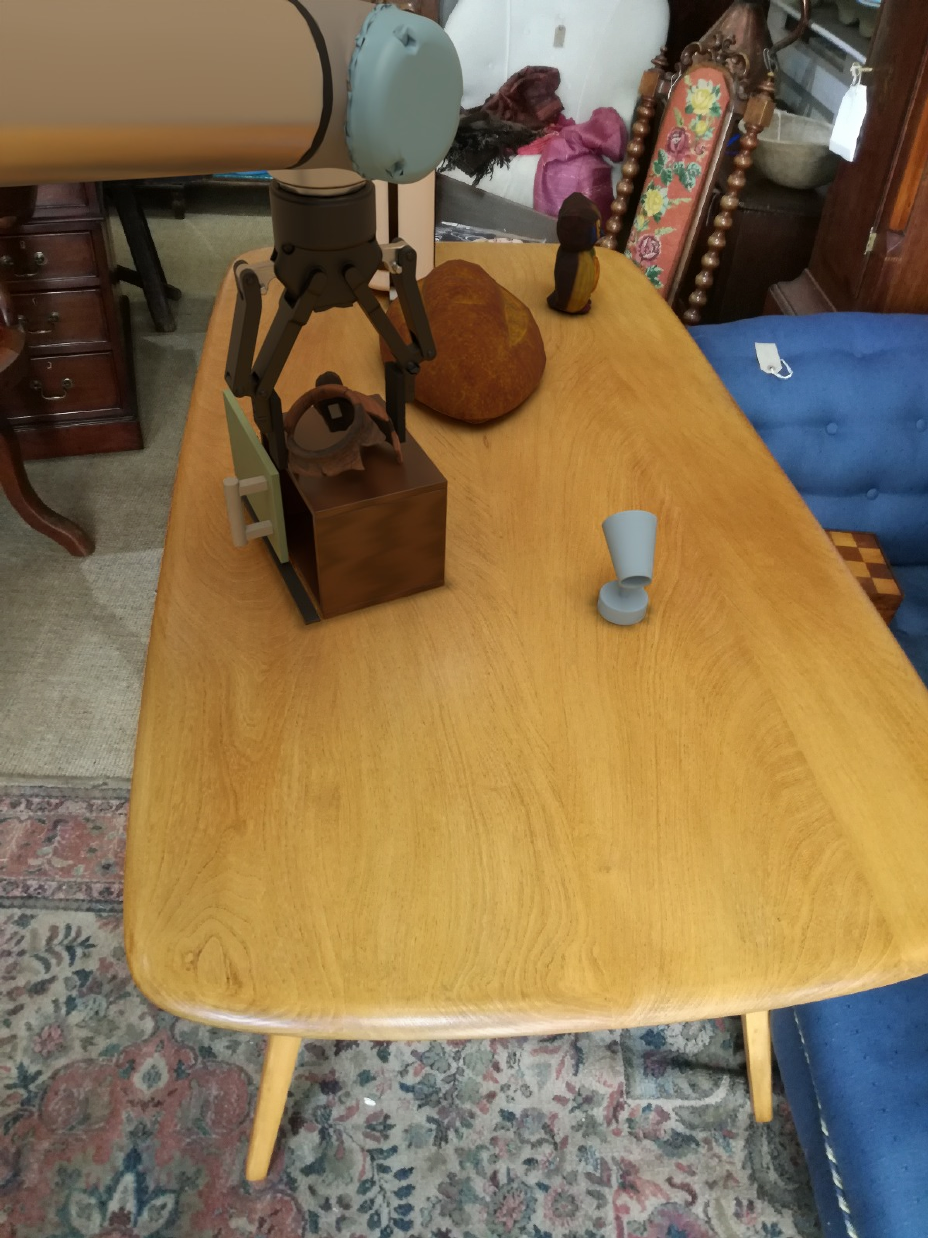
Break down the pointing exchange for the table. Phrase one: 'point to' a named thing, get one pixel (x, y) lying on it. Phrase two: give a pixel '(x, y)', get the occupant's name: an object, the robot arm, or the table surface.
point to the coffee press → (406, 224)
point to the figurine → (576, 254)
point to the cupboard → (360, 525)
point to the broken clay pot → (338, 428)
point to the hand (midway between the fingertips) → (338, 447)
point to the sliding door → (252, 484)
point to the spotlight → (628, 565)
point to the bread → (473, 344)
